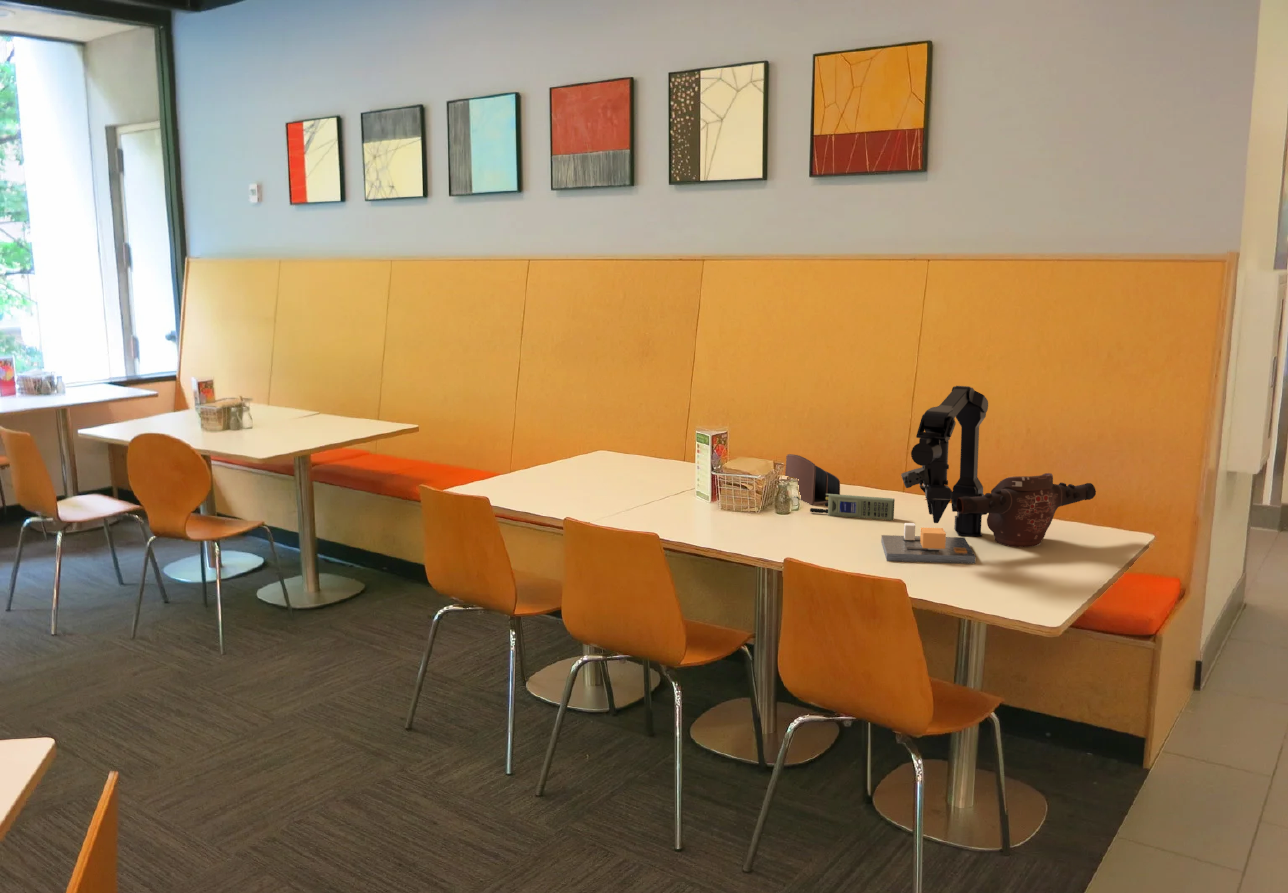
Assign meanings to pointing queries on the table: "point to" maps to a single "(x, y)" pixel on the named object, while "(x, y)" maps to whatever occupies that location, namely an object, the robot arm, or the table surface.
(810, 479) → the letter holder
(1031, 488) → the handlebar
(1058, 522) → the table surface
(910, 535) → the switch
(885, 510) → the handheld radio
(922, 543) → the cap
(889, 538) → the breaker panel
